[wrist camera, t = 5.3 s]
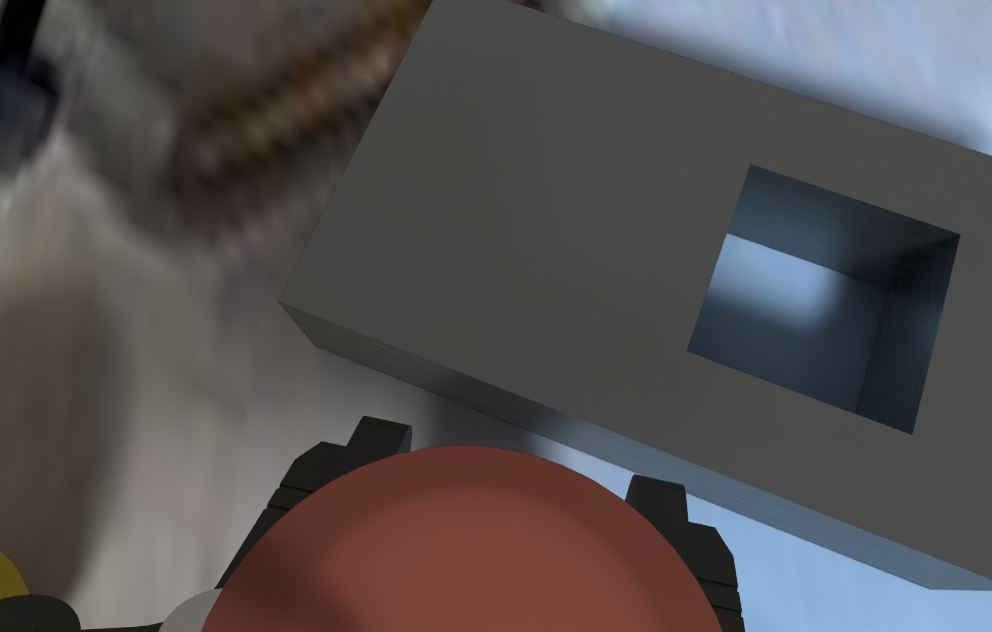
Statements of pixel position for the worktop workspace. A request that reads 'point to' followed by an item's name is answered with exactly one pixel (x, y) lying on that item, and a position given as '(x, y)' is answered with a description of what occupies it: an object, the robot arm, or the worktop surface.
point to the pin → (462, 555)
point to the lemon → (10, 579)
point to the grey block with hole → (667, 277)
